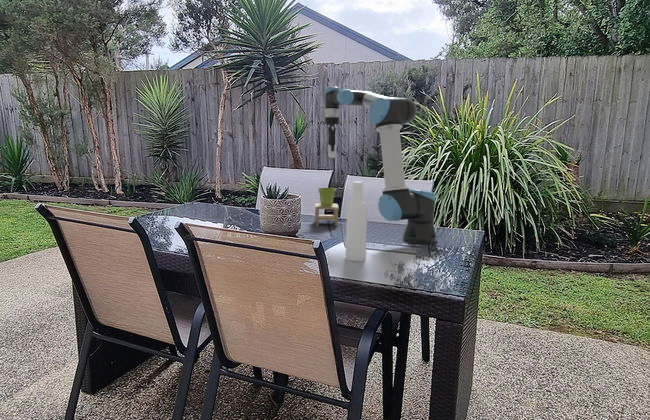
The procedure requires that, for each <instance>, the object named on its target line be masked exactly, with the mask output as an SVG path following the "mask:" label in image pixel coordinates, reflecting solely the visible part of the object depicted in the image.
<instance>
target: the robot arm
mask: <svg viewBox="0 0 650 420" xmlns="http://www.w3.org/2000/svg"><path fill="white" fill-rule="evenodd" d="M324 96H325V97H324V102H325V103H324V105H325V107H324V108H325V109H324V111H323V112H324V116H325V117H324V124H325V125H329V126H328V128H327V132H328V133H327V134H328V140H327V143H328V145H327V146H328V147H327V153H328V154H327V157H329V158H331V159H334V158H336V144H337V142H336V130H337V128H336V125H339V124H340V118H339V116H340V106H358V107H360V106H361V107H364V108H369V110H368V118H369V121H370V122H371V124H373V125H375V131H377V132H378V133H379V137H380V140H379V141H380V149H381V157H382V169H383V176H384V186H385V187H384V189H383V190H382V195H380V197H378V198H379V199H378V202H377V206H378V210H379V213H380V215H381V216H382V217H383V218H384V219H385V220H386V221H389V222H399V221H403V220H404V221H405V220H407V223H406V225H405V228H404V230H403V234H402V240H403V241H405V242H408V243H412V244H417V245H418V244H419V245H420V244H421V245H423V244H424V245H427V244H434V243H436V242H437V237H438V236H437V232H436V228H435V223H434V222H435V221H434V218H435V206H436V195H435V192H433V191H430V190H424V189H417V188H416V189H415V188H409V187H408V186H407V185H406V180H405V172H404V171H405V170H404V161H403V152H402V143H401V132H400V131H401V130H402V128H403V125H407V124H409V123H411V122H412V121H413V120H414V119H415V118H416V116H417V112H418V108H417V105H416V103H415V102H414V101H413V100H412V99H410V98H406V97H393V96H386V95H385V96H384V95H381V94H377V93H374V92H373V91H370V90H369V91H368V90H351V89H348V88H343V89H340V87H338V86H327V87H326V88H325V94H324Z"/></svg>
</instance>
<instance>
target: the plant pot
mask: <svg viewBox="0 0 650 420" xmlns="http://www.w3.org/2000/svg"><path fill="white" fill-rule="evenodd" d="M336 190H337V189H336V188H334V187H321V188H320V187H319V188H318V194H319V200H320V203H321V205H322V206H332V205H333V203H334V197H335V194H336V193H335V192H336Z"/></svg>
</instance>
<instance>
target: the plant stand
mask: <svg viewBox="0 0 650 420" xmlns="http://www.w3.org/2000/svg"><path fill="white" fill-rule="evenodd" d="M339 209H340V207H339V204H338V203H334V202H333V205H332V206H322V205H321V202H320V203H314V218H315V219H314V222H315V227H319V225H320V224H319V223H320V221H333V223H334V226H335V227H339ZM320 210H333V214H320Z"/></svg>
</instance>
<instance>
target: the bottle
mask: <svg viewBox="0 0 650 420" xmlns="http://www.w3.org/2000/svg"><path fill="white" fill-rule="evenodd" d="M363 187H364V185H363V182H362V181H353V182H352V200H351V201H350V202H349V203H348V205H347V207H346V227H345V228H346V230H345V231H346V232H345V234H346V235H345V239H346V240H345V259H346V260H347V261H350V262H357V263H358V262H364V261H365V260H366V259H367V233H368V232H367V231H368V230H367V229H368V228H367V226H368V225H367V224H368V208H367V204H366V203H365V202H364V201H363Z"/></svg>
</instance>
